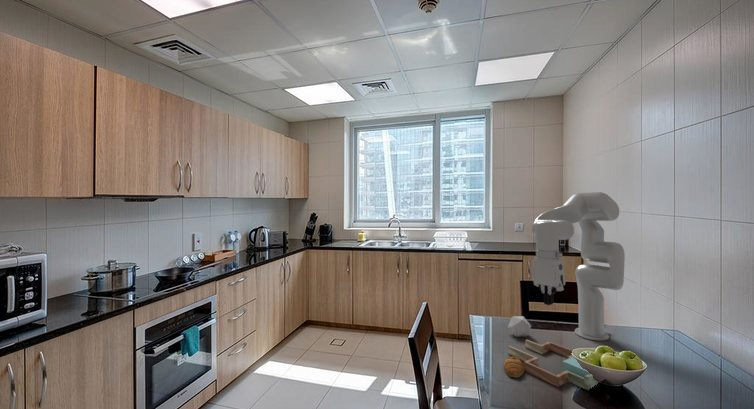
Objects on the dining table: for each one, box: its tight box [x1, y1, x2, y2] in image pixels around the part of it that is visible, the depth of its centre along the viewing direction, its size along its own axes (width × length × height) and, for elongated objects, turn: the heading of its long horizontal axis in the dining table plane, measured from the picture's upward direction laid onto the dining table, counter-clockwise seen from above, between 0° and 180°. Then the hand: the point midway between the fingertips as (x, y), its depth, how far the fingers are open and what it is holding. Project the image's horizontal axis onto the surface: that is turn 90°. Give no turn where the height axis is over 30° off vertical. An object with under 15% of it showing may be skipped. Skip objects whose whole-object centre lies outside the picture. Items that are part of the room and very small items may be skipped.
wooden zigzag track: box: [507, 339, 599, 391], centre depth 114 cm, size 24×29×4 cm
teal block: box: [562, 357, 589, 377], centre depth 105 cm, size 6×8×5 cm
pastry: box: [503, 356, 525, 379], centre depth 110 cm, size 9×7×4 cm
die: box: [507, 315, 532, 338], centre depth 141 cm, size 8×9×10 cm
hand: (548, 303), depth 116 cm, fingers closed
